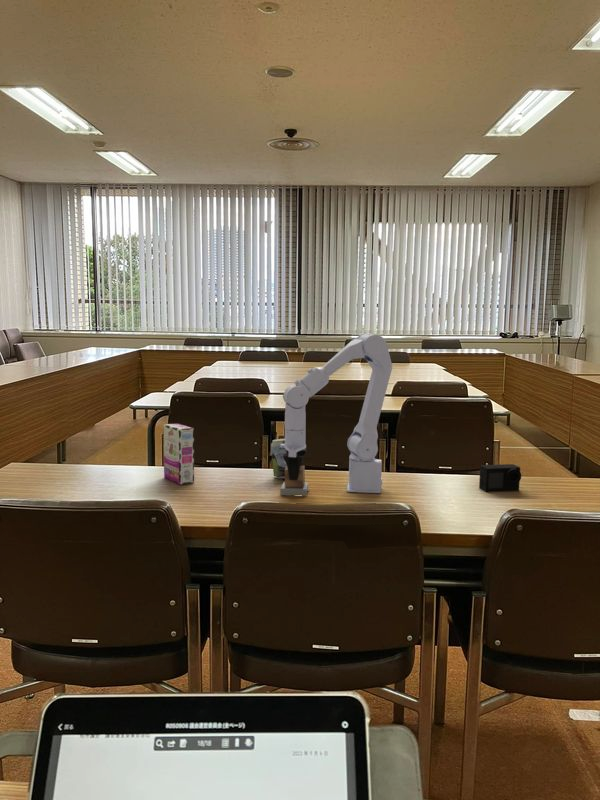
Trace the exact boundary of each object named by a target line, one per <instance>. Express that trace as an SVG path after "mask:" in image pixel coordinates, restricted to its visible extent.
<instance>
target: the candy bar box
mask: <svg viewBox="0 0 600 800" xmlns="http://www.w3.org/2000/svg"><path fill="white" fill-rule="evenodd" d="M163 477H164V478H165V479H167V480H169V481H170V482H171V481H172V482H173V483H176V484H177V485H180V486H181V485H188V484H193V483H195V428H194V427H190V426H187V425H184V424H181V423H168V424H167V423H166V424H163Z"/></svg>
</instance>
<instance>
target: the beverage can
mask: <svg viewBox="0 0 600 800" xmlns="http://www.w3.org/2000/svg"><path fill="white" fill-rule="evenodd" d="M281 444H285V438H279V439H273V440H272V442H271V444H270V449H271V450H270V451H271V452H270V453H271V460H272V471H273V472H272V473H273V477H275V478H276V479H285V468H286V466H287V464H286V462H285V460H284V458H283V455H284V454H287V452H286V449H285V448H284V447H281Z"/></svg>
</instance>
